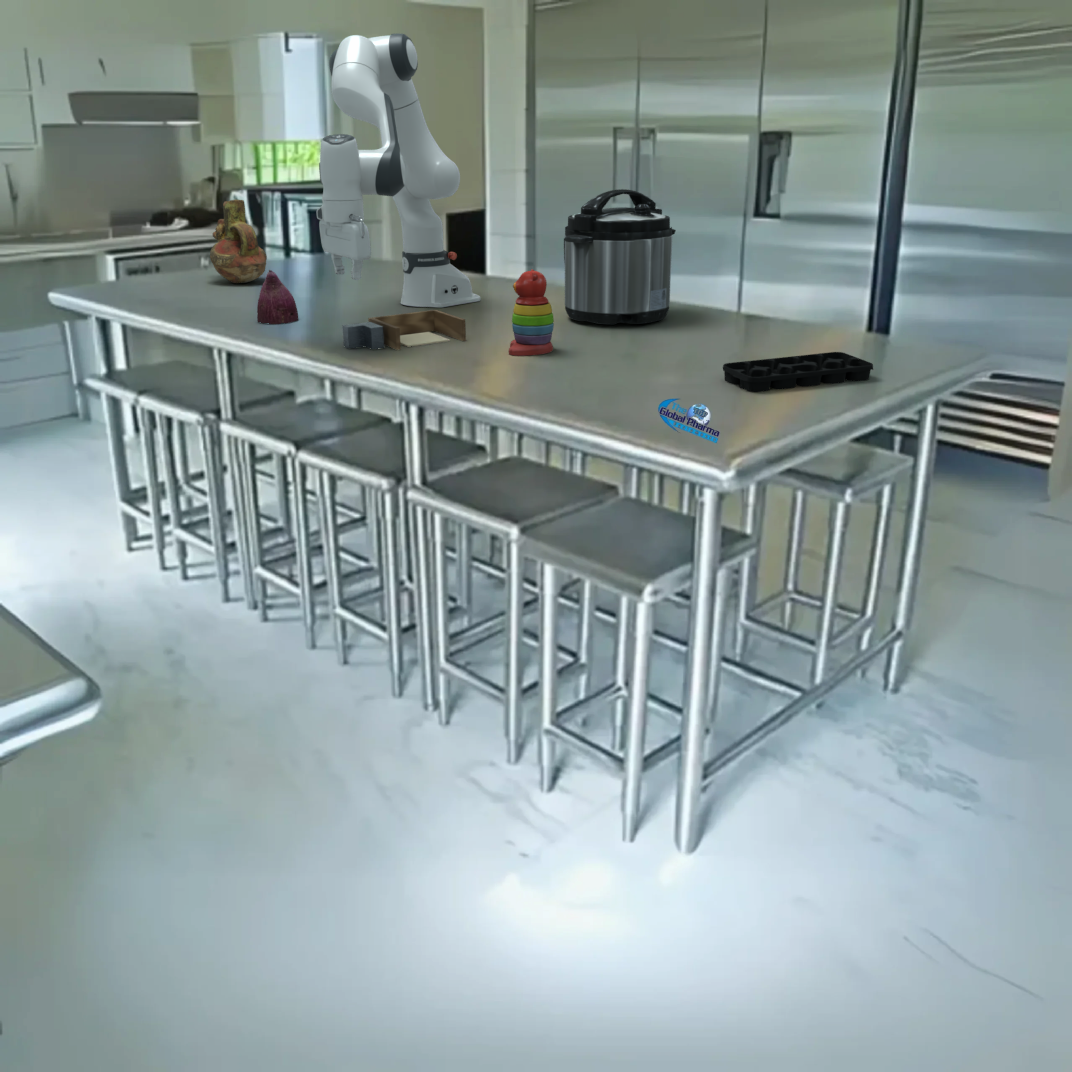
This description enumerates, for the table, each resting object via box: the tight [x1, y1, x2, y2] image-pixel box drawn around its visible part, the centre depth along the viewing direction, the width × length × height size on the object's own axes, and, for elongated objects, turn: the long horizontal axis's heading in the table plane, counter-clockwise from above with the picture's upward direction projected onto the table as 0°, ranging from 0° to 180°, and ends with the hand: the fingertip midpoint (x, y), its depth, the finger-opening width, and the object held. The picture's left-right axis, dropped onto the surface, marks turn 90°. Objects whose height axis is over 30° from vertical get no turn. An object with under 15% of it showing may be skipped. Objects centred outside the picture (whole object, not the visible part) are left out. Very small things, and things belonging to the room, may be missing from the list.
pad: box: [400, 332, 451, 348], centre depth 254 cm, size 11×11×1 cm
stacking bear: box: [508, 269, 555, 357], centre depth 239 cm, size 11×10×18 cm
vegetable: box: [256, 269, 299, 325], centre depth 275 cm, size 10×10×15 cm
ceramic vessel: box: [209, 199, 268, 284], centre depth 333 cm, size 17×26×25 cm, turn 43°
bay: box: [367, 309, 467, 351], centre depth 254 cm, size 18×15×5 cm
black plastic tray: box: [722, 351, 874, 393], centre depth 215 cm, size 18×30×4 cm, turn 122°
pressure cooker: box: [563, 188, 676, 325], centre depth 271 cm, size 30×28×32 cm
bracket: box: [341, 321, 385, 350], centre depth 247 cm, size 7×7×5 cm
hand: (348, 276), depth 242 cm, fingers open, 8 cm apart
